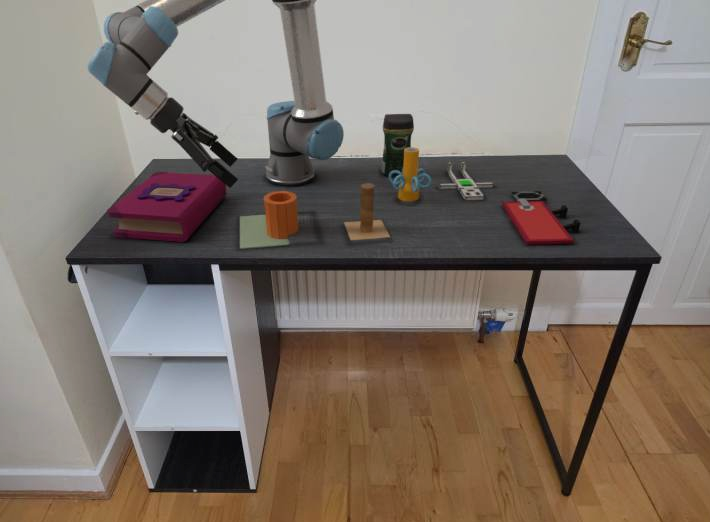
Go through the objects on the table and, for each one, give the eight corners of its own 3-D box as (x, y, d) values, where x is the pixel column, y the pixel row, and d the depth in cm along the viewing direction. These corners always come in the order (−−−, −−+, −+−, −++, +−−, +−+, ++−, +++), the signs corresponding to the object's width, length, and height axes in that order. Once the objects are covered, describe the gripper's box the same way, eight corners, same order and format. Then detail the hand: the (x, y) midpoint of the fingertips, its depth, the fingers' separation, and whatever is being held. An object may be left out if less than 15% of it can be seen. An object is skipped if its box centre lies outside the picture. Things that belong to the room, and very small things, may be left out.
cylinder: (432, 196, 152) (437, 145, 144) (425, 210, 144) (430, 158, 136) (391, 191, 156) (394, 141, 147) (382, 205, 147) (385, 153, 139)
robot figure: (430, 173, 168) (446, 200, 149) (431, 163, 166) (447, 190, 148) (480, 171, 168) (502, 199, 150) (482, 161, 167) (504, 188, 148)
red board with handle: (546, 194, 152) (494, 195, 152) (548, 185, 150) (496, 186, 151) (587, 244, 127) (526, 246, 127) (590, 234, 126) (528, 236, 126)
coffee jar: (409, 168, 172) (413, 110, 161) (412, 176, 165) (417, 117, 155) (379, 168, 171) (381, 111, 161) (382, 177, 165) (384, 118, 155)
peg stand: (343, 226, 136) (343, 179, 129) (381, 223, 138) (383, 176, 131) (350, 244, 128) (350, 195, 121) (390, 241, 129) (392, 192, 122)
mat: (239, 217, 141) (239, 216, 141) (312, 212, 144) (312, 210, 144) (240, 249, 127) (239, 248, 126) (321, 242, 129) (321, 241, 129)
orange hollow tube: (266, 226, 136) (263, 192, 131) (296, 223, 137) (294, 189, 132) (267, 240, 130) (264, 205, 124) (299, 237, 131) (297, 202, 125)
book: (227, 198, 152) (224, 173, 148) (189, 243, 129) (183, 215, 125) (160, 193, 156) (155, 169, 151) (111, 237, 132) (103, 209, 128)
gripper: (155, 106, 125) (224, 165, 135) (140, 138, 104) (222, 204, 115) (175, 83, 123) (243, 144, 133) (163, 111, 102) (245, 181, 113)
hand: (234, 172), depth 124 cm, fingers open, 13 cm apart
